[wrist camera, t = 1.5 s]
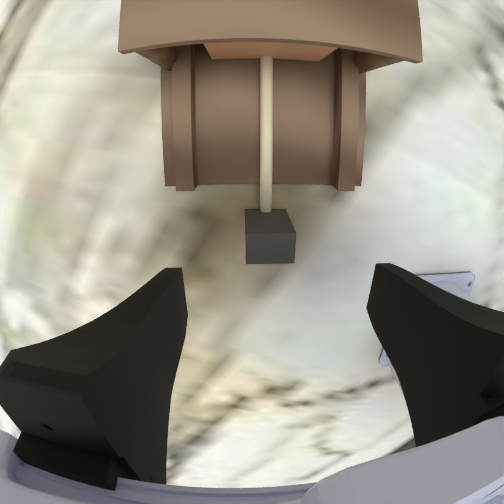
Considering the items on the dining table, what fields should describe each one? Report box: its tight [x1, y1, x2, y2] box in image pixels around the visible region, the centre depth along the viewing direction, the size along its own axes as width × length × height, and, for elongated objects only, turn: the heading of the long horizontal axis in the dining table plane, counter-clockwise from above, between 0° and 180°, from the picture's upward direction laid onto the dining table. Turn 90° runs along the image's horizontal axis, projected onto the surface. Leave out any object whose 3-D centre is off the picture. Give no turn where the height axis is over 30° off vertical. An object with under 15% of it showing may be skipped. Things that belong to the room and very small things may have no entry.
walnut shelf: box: [118, 0, 423, 191], centre depth 12 cm, size 14×12×8 cm
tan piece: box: [204, 42, 337, 264], centre depth 14 cm, size 16×6×5 cm, turn 0°
